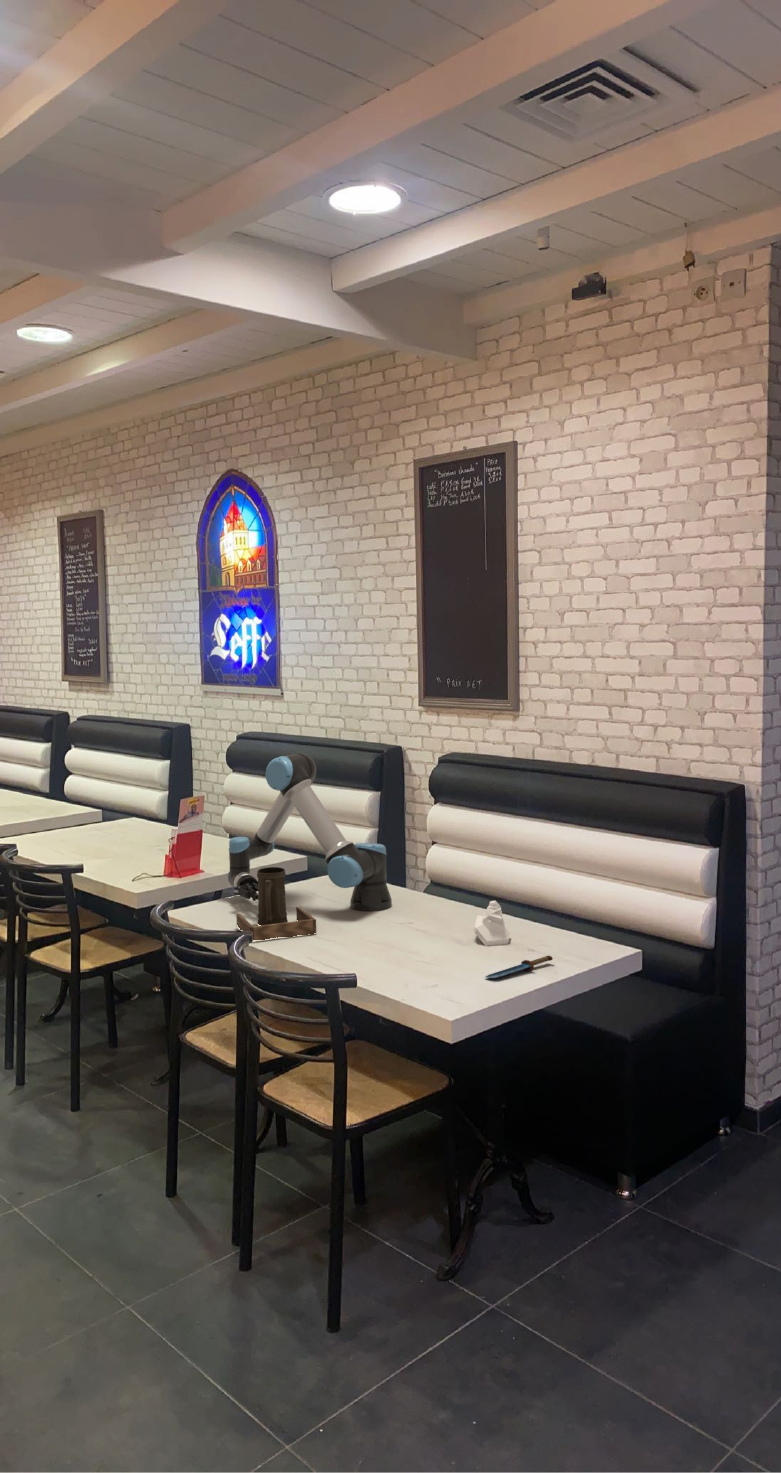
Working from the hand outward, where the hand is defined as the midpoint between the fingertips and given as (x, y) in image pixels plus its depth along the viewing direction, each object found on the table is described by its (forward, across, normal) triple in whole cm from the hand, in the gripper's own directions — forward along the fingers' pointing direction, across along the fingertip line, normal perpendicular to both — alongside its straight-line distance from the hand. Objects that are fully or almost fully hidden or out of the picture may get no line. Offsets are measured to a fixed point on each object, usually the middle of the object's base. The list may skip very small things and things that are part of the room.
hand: (262, 899), depth 359 cm
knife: (+85, -54, -8) cm, 101 cm away
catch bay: (+14, -1, -8) cm, 16 cm away
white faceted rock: (+52, -62, -8) cm, 81 cm away
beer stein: (+7, -1, -8) cm, 11 cm away
